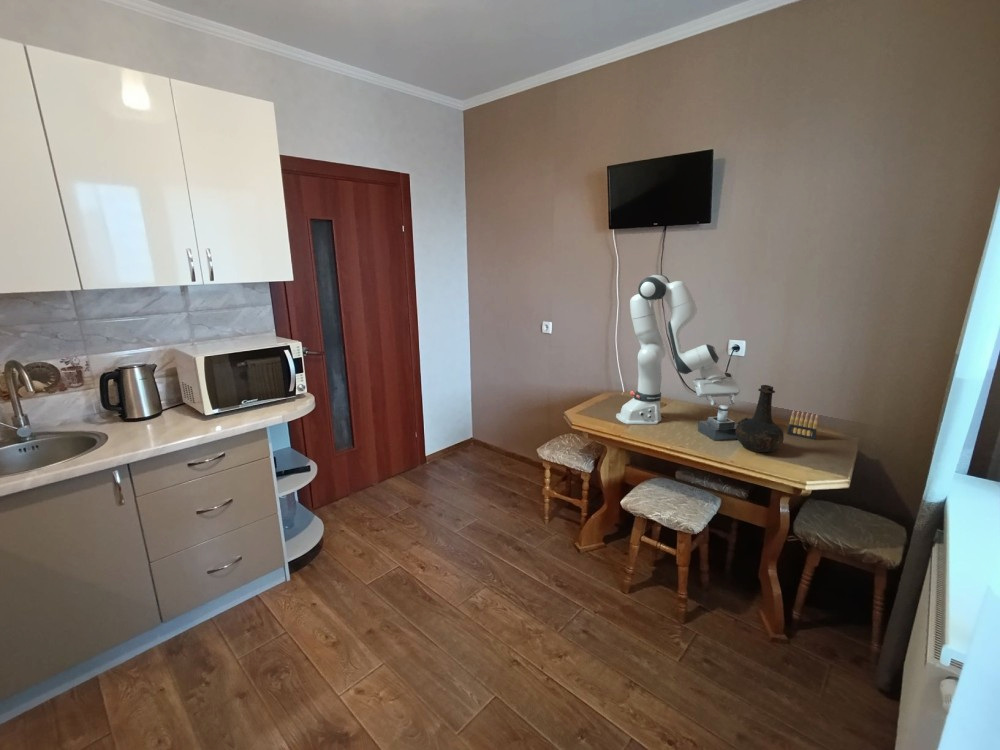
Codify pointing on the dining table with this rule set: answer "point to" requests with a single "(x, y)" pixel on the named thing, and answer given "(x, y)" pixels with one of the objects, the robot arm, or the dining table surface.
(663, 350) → the robot arm
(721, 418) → the dome-capped cylinder
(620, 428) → the dining table surface
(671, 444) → the dining table surface
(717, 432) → the square socket base
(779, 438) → the glass bottle
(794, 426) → the ammunition clip
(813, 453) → the dining table surface
